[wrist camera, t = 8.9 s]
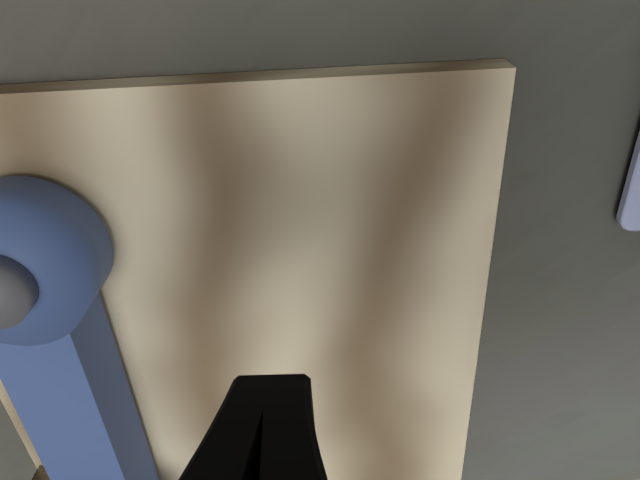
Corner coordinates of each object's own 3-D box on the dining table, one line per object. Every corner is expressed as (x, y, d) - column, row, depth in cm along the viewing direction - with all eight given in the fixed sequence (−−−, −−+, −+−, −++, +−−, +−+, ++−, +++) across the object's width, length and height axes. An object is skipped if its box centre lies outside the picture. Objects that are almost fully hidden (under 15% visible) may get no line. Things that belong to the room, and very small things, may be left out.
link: (-62, 178, 17) (-138, 228, 14) (91, 173, 17) (45, 222, 14) (86, 504, 26) (57, 573, 23) (187, 503, 26) (170, 573, 23)
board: (504, 58, 16) (516, 67, 15) (454, 470, 26) (459, 493, 25) (-127, 91, 17) (-157, 101, 16) (63, 477, 27) (53, 499, 26)
